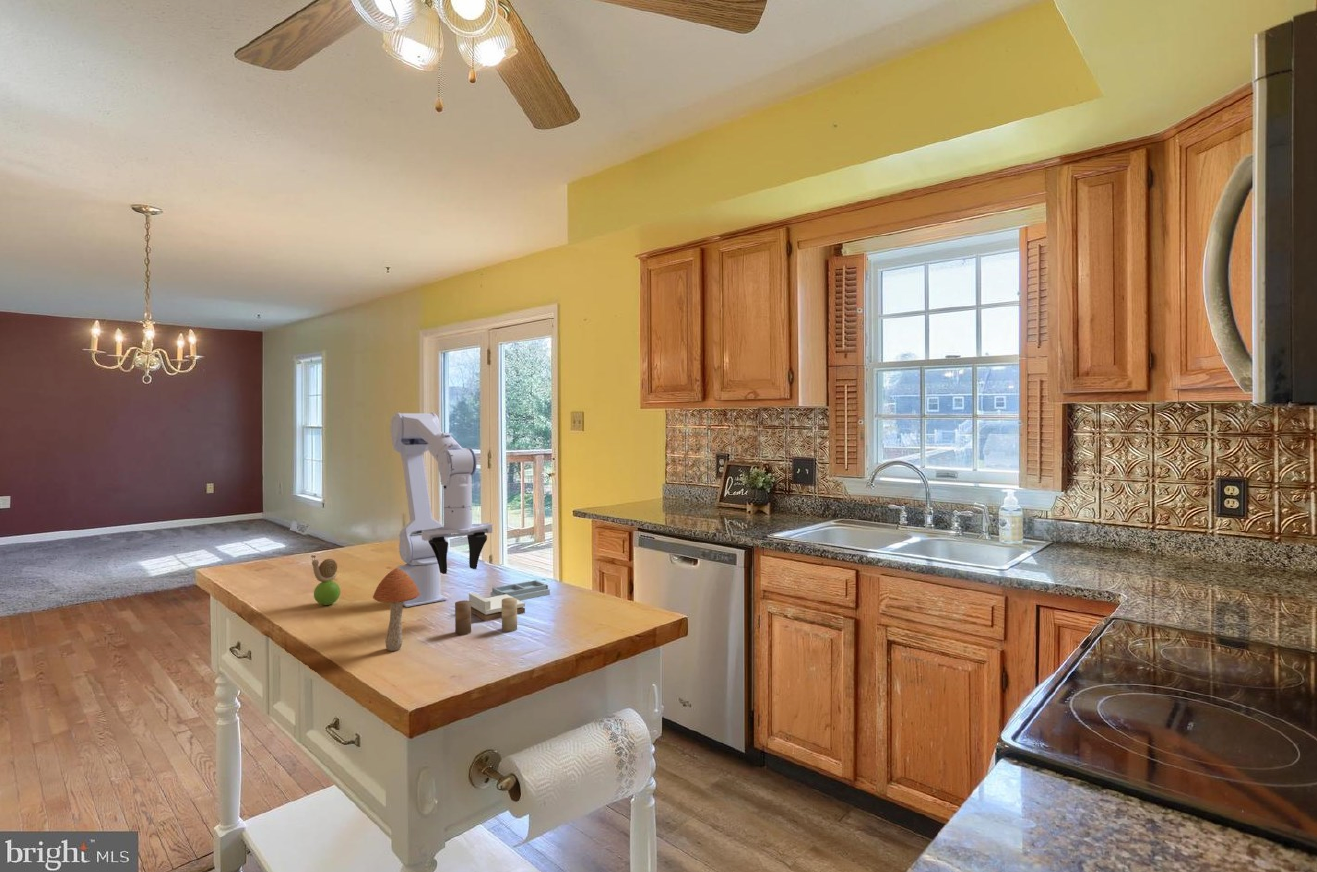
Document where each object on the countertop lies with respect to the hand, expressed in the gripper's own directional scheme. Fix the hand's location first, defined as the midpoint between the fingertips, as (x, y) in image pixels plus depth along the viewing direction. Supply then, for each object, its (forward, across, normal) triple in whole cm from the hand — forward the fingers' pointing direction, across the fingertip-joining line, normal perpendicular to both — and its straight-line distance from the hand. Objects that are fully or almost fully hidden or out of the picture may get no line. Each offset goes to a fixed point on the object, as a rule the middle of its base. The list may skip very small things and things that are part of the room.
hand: (458, 570), depth 136 cm
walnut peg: (+10, -2, -8) cm, 14 cm away
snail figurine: (+11, -20, +30) cm, 37 cm away
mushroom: (+11, -16, -10) cm, 21 cm away
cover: (+9, +9, 0) cm, 12 cm away
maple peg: (+10, +6, -12) cm, 17 cm away
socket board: (+10, +18, +8) cm, 23 cm away
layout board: (+10, +8, 0) cm, 13 cm away
